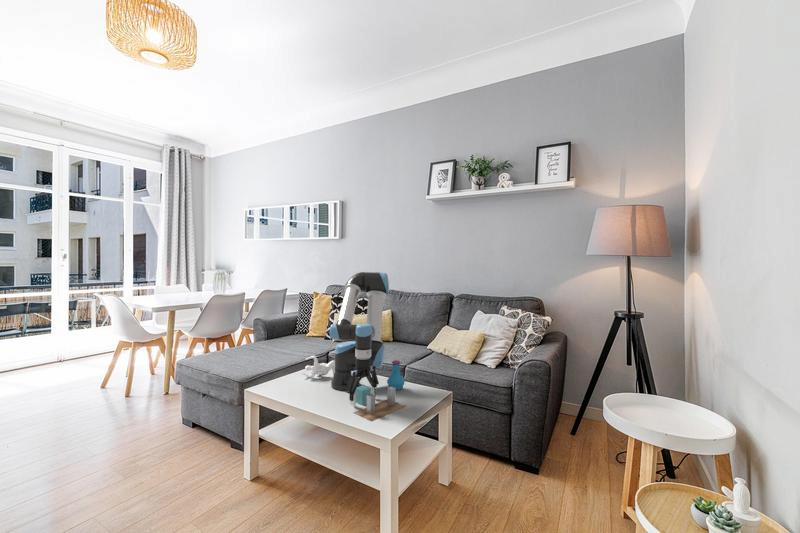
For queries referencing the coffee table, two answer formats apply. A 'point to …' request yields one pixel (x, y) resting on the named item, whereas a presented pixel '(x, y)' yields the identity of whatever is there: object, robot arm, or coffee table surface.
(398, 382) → the perfume bottle
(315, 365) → the white branched piece
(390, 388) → the post
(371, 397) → the post
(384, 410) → the board
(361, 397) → the teal rectangular prism
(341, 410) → the coffee table surface
